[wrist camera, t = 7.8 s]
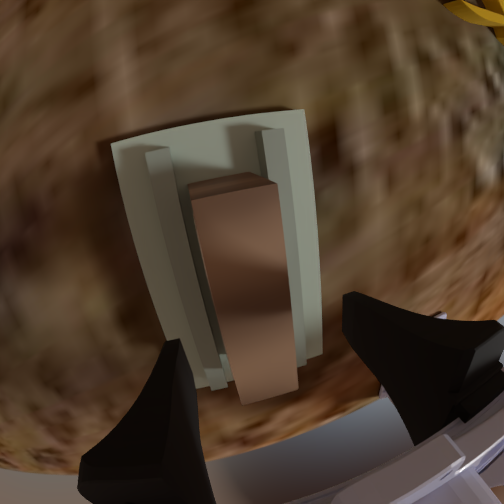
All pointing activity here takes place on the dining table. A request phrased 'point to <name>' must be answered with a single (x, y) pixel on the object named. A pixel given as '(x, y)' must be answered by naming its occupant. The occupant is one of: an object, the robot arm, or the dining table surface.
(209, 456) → the dining table surface
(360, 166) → the dining table surface
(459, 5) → the decorative art
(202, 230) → the brown box
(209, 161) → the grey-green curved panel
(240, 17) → the dining table surface
